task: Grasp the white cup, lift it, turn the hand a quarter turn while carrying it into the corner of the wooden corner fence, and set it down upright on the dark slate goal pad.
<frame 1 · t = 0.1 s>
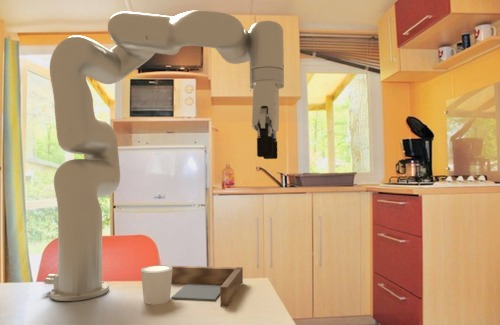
hand: (267, 157, 81), 31 cm above the table, tool pointing down, fingers open, 9 cm apart
goal pad: (199, 292, 87), on the table
white cup: (156, 300, 82), on the table
wooden corner fence: (195, 292, 87), on the table
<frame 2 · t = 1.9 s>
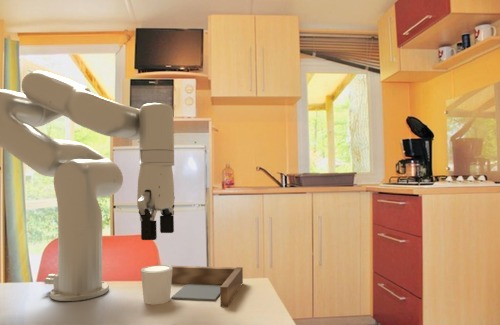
hand: (158, 236, 83), 14 cm above the table, tool pointing down, fingers open, 9 cm apart
nothing on the table moved.
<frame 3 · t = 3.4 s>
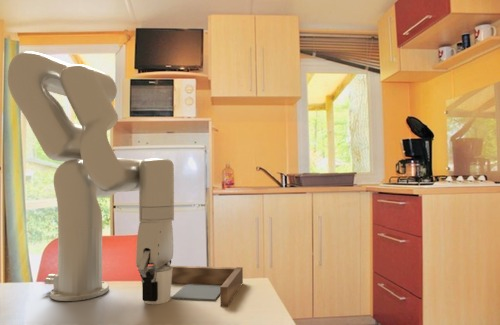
hand: (157, 294, 82), 1 cm above the table, tool pointing down, fingers closed on white cup, 6 cm apart
white cup: (156, 300, 82), on the table, touching gripper
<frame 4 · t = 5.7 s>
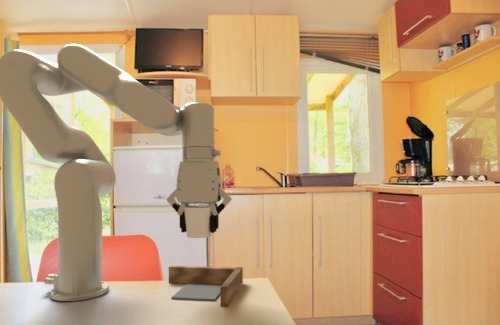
hand: (199, 231, 87), 14 cm above the table, tool pointing down, fingers closed on white cup, 6 cm apart
white cup: (198, 236, 87), point 13 cm above the table, touching gripper
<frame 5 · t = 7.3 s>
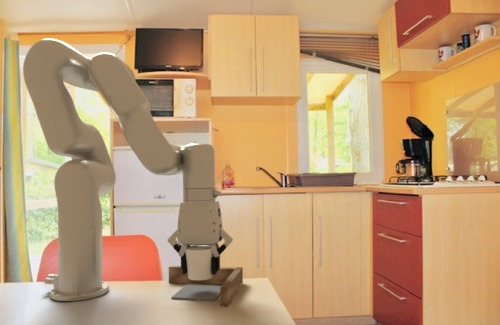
hand: (200, 272, 87), 5 cm above the table, tool pointing down, fingers closed on white cup, 6 cm apart
white cup: (200, 277, 87), point 3 cm above the table, touching gripper
when the fingers open (3 cm above the table, at t = 8.2 s): white cup drops 1 cm, resting on goal pad.
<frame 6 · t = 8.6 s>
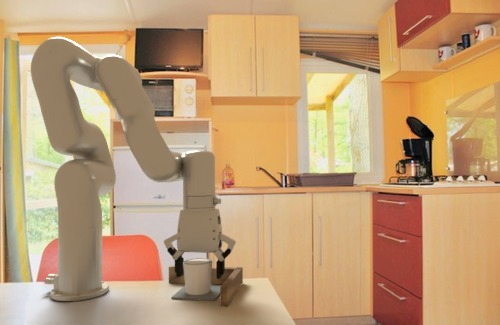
hand: (199, 276, 87), 4 cm above the table, tool pointing down, fingers open, 9 cm apart
white cup: (198, 292, 87), resting on goal pad
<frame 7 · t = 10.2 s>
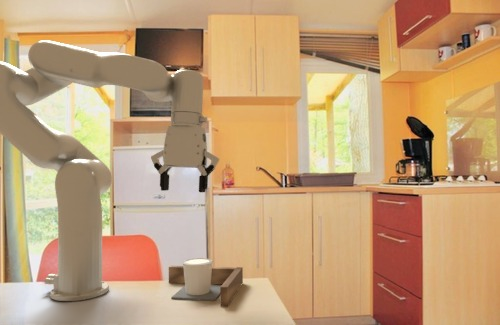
hand: (183, 191, 91), 24 cm above the table, tool pointing down, fingers open, 9 cm apart
nothing on the table moved.
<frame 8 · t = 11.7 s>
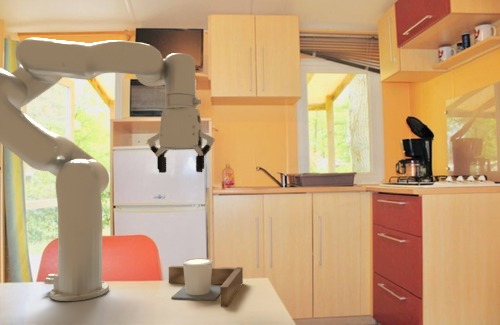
hand: (180, 172, 93), 28 cm above the table, tool pointing down, fingers open, 9 cm apart
nothing on the table moved.
at the end: white cup inside the target area on the goal pad (0.4 cm from its centre), point 0.2 cm above the goal pad's base; white cup tilted 0°; the gripper is holding nothing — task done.
